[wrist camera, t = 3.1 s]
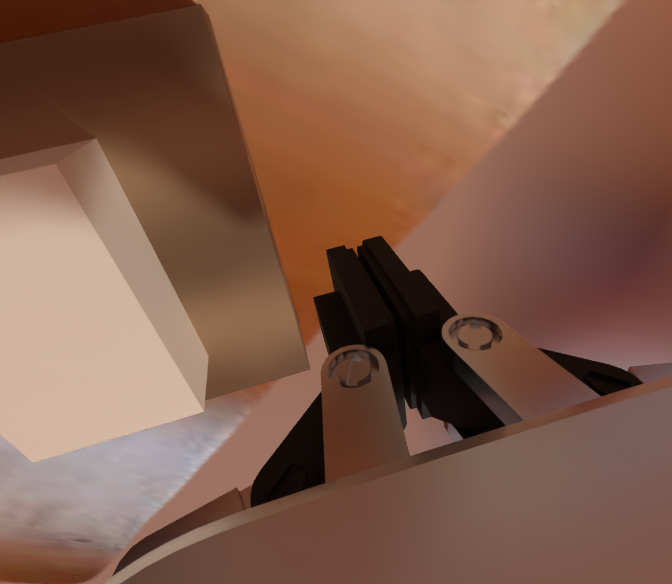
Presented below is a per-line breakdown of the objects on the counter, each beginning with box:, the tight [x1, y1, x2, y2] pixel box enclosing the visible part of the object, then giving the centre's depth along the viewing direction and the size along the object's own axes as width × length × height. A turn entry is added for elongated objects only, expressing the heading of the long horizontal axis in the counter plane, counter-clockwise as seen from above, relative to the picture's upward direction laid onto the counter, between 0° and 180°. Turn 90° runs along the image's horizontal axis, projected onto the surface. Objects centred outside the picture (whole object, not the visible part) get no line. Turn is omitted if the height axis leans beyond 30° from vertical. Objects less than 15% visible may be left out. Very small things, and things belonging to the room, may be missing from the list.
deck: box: [0, 4, 310, 400], centre depth 15 cm, size 14×12×4 cm
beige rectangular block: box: [0, 138, 209, 462], centre depth 12 cm, size 9×6×3 cm, turn 10°
